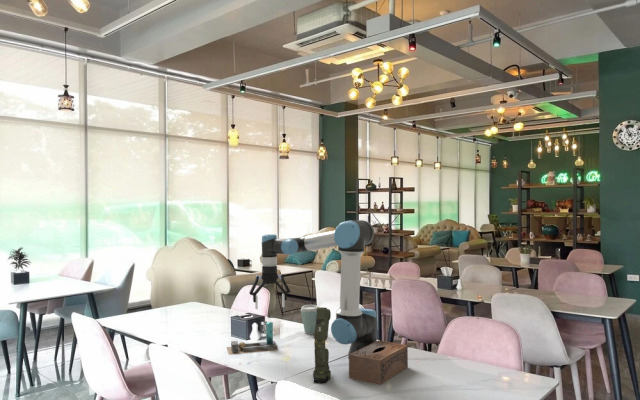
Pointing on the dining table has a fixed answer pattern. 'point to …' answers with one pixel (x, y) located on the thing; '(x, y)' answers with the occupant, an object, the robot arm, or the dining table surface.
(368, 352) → the tissue box cover
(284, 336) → the dining table surface
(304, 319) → the disposable coffee cup
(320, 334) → the mechanical leg
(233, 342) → the press base
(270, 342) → the ram
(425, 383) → the dining table surface
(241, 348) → the walnut
